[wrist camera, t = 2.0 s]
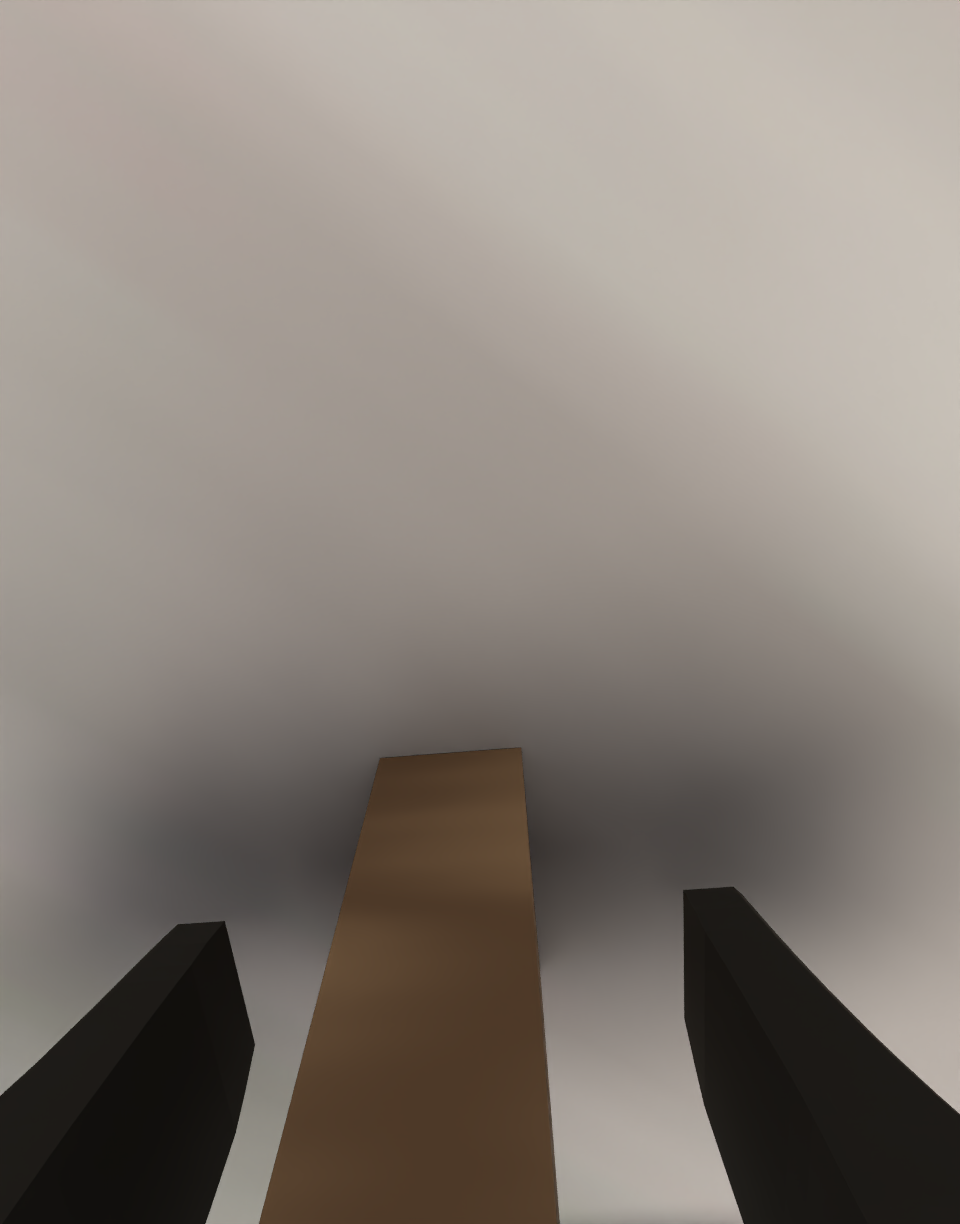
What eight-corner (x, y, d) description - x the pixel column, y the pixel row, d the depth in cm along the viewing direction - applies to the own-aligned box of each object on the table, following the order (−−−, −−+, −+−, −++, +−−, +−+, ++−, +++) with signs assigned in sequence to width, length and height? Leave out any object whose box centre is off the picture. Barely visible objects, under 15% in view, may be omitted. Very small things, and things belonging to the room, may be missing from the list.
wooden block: (413, 980, 12) (328, 1706, 6) (380, 758, 11) (220, 1372, 5) (539, 972, 12) (597, 1699, 6) (521, 747, 11) (566, 1359, 4)
